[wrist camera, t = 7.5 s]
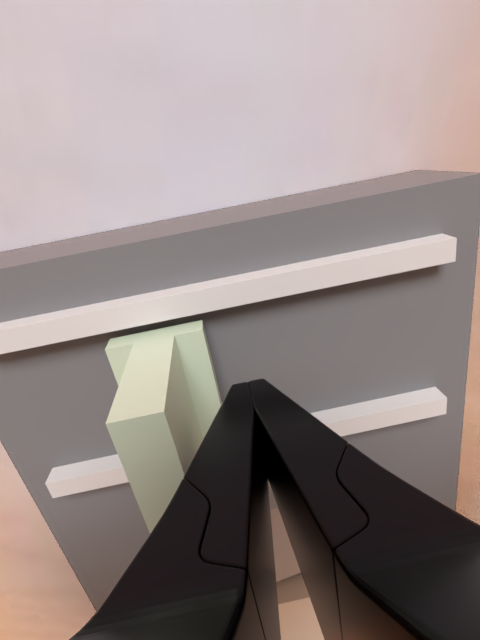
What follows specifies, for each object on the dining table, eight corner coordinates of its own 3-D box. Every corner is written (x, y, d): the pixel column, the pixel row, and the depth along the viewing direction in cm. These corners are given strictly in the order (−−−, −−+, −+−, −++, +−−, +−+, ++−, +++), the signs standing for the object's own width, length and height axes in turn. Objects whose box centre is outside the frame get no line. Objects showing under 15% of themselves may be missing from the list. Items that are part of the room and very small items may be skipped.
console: (411, 566, 20) (453, 646, 17) (153, 624, 20) (144, 717, 16) (417, 169, 12) (502, 173, 9) (-20, 256, 12) (-106, 294, 8)
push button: (323, 584, 18) (342, 649, 16) (242, 602, 18) (249, 670, 16) (315, 529, 16) (335, 591, 14) (226, 548, 16) (231, 614, 14)
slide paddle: (228, 429, 11) (241, 542, 8) (148, 446, 11) (127, 568, 8) (202, 320, 10) (205, 403, 6) (110, 338, 10) (63, 432, 6)
